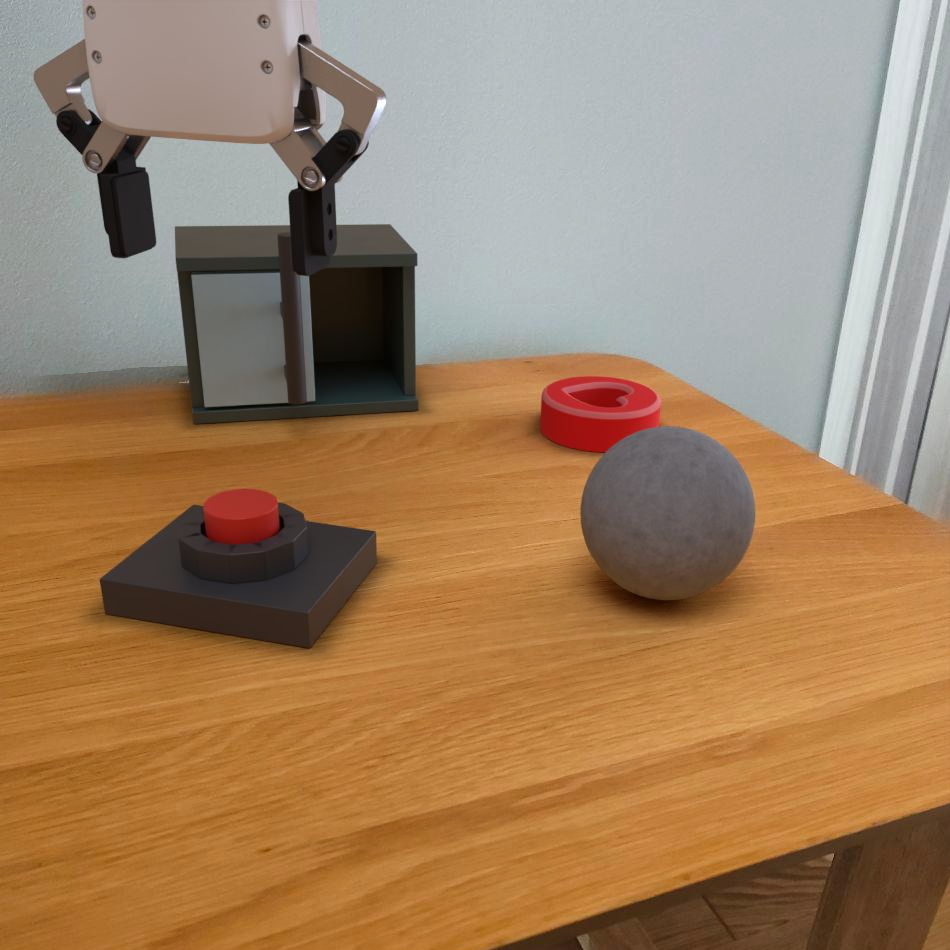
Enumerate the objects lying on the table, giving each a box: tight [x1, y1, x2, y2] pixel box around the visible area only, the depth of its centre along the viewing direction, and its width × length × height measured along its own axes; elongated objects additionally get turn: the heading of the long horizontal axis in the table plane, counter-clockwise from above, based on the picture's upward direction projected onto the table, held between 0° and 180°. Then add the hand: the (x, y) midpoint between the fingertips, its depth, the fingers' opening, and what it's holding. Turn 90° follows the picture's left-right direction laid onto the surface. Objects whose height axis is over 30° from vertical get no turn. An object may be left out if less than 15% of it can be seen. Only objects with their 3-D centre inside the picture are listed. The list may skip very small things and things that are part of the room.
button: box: [202, 488, 280, 545], centre depth 59 cm, size 4×4×2 cm
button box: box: [99, 501, 378, 649], centre depth 60 cm, size 12×10×4 cm
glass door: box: [191, 232, 315, 407], centre depth 79 cm, size 9×6×14 cm
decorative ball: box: [579, 425, 756, 601], centre depth 61 cm, size 10×10×10 cm
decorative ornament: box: [539, 375, 662, 453], centre depth 86 cm, size 10×10×3 cm
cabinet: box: [174, 223, 419, 425], centre depth 88 cm, size 18×12×13 cm, turn 107°
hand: (222, 261), depth 53 cm, fingers open, 9 cm apart
